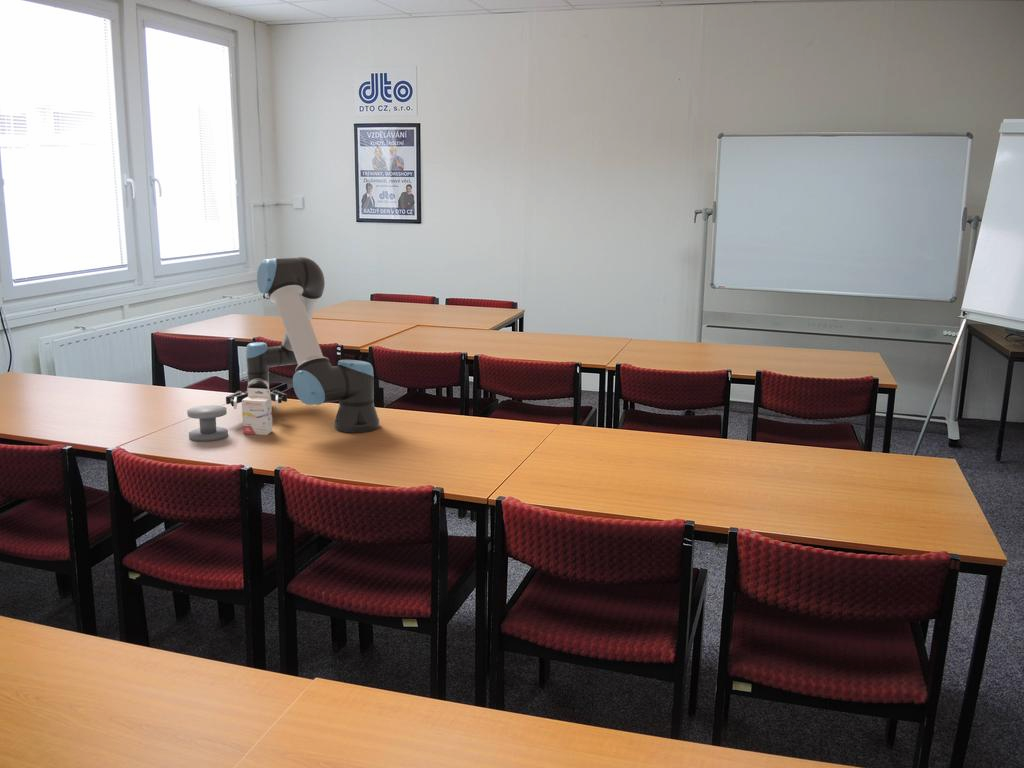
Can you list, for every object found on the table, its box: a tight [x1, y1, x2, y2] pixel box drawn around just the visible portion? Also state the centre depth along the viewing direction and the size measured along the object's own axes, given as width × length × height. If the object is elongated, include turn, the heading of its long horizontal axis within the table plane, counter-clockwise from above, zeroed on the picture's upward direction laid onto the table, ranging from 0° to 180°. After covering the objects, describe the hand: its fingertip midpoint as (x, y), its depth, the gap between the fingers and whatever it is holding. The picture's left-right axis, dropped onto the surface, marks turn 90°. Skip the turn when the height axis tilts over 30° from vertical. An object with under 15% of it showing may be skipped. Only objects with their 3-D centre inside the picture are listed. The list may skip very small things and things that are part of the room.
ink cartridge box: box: [241, 388, 274, 436], centre depth 276 cm, size 9×5×15 cm, turn 83°
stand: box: [186, 404, 229, 442], centre depth 271 cm, size 12×12×9 cm
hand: (256, 404), depth 281 cm, fingers open, 13 cm apart
